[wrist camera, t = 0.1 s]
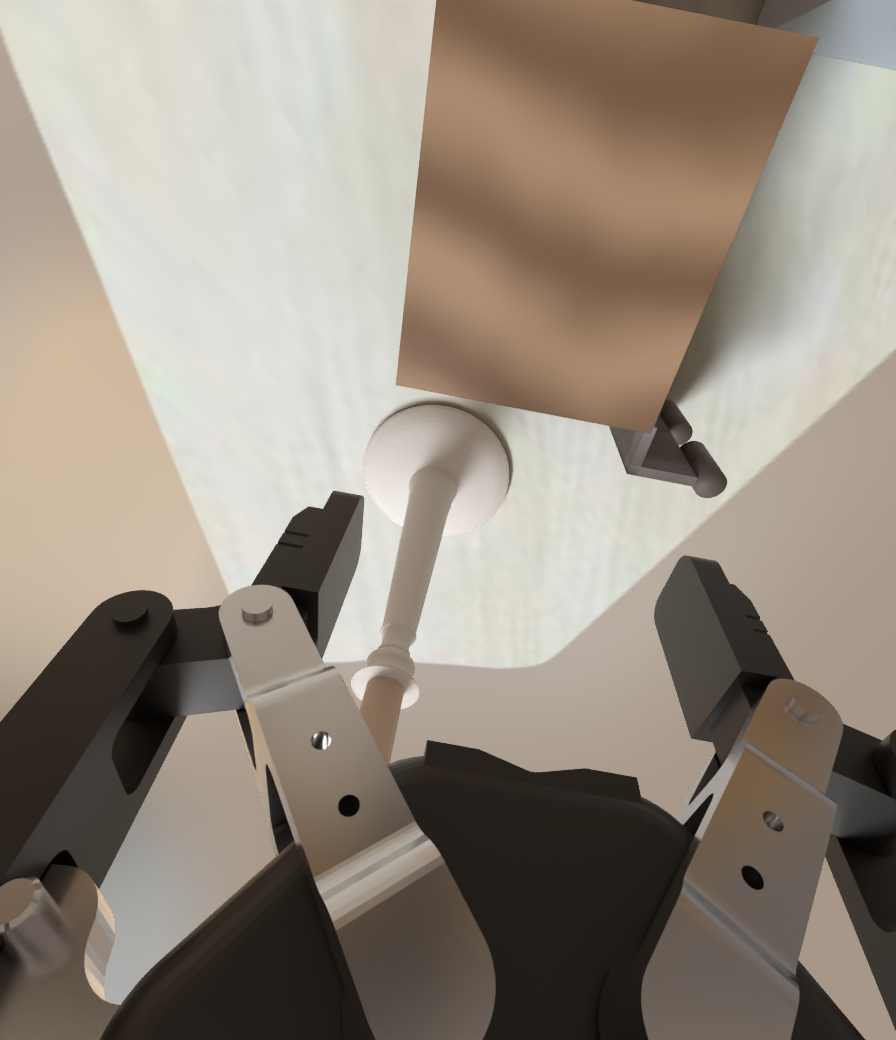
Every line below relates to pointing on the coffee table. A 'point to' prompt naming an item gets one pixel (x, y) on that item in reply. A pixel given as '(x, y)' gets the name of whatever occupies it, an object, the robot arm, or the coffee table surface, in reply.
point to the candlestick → (421, 533)
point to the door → (840, 27)
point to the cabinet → (585, 207)
